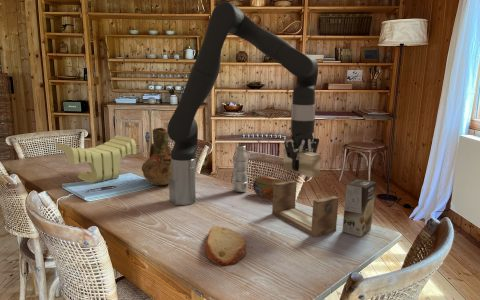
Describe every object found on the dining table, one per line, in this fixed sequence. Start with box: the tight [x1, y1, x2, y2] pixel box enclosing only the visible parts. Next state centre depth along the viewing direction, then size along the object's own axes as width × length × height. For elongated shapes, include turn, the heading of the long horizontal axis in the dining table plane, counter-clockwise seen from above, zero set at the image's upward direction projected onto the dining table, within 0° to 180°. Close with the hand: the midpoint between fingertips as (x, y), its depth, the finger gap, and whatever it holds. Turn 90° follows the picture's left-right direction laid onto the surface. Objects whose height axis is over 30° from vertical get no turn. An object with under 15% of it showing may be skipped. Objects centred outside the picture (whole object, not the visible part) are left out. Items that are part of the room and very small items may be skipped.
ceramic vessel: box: [141, 127, 172, 186], centre depth 160 cm, size 17×26×25 cm, turn 32°
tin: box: [253, 175, 285, 200], centre depth 148 cm, size 15×3×8 cm, turn 56°
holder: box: [271, 180, 340, 237], centre depth 123 cm, size 9×23×11 cm, turn 33°
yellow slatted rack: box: [55, 134, 137, 184], centre depth 168 cm, size 30×16×18 cm, turn 140°
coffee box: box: [342, 178, 377, 238], centre depth 117 cm, size 9×6×16 cm
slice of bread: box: [204, 226, 247, 267], centre depth 104 cm, size 18×18×4 cm
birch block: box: [282, 147, 322, 178], centre depth 121 cm, size 4×14×7 cm, turn 31°
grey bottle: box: [231, 144, 249, 193], centre depth 153 cm, size 6×7×20 cm
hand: (301, 169), depth 122 cm, fingers closed on birch block, 4 cm apart
